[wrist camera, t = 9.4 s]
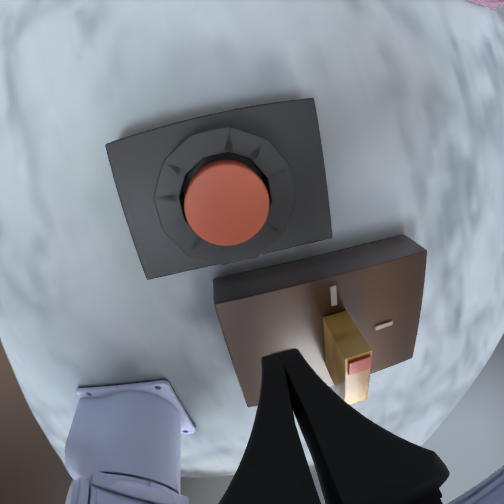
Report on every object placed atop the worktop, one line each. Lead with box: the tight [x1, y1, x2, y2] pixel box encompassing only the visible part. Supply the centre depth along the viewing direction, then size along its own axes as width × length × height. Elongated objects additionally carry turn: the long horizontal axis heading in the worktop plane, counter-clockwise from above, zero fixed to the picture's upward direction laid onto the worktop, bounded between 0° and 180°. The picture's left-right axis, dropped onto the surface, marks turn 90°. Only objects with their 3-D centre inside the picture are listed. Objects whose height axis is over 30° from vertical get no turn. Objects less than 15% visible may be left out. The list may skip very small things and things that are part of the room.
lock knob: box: [323, 311, 372, 405], centre depth 18 cm, size 5×2×4 cm, turn 11°
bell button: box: [184, 159, 269, 246], centre depth 14 cm, size 4×4×2 cm
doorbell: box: [105, 98, 332, 280], centre depth 16 cm, size 11×8×4 cm
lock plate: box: [213, 235, 427, 407], centre depth 21 cm, size 14×10×3 cm
